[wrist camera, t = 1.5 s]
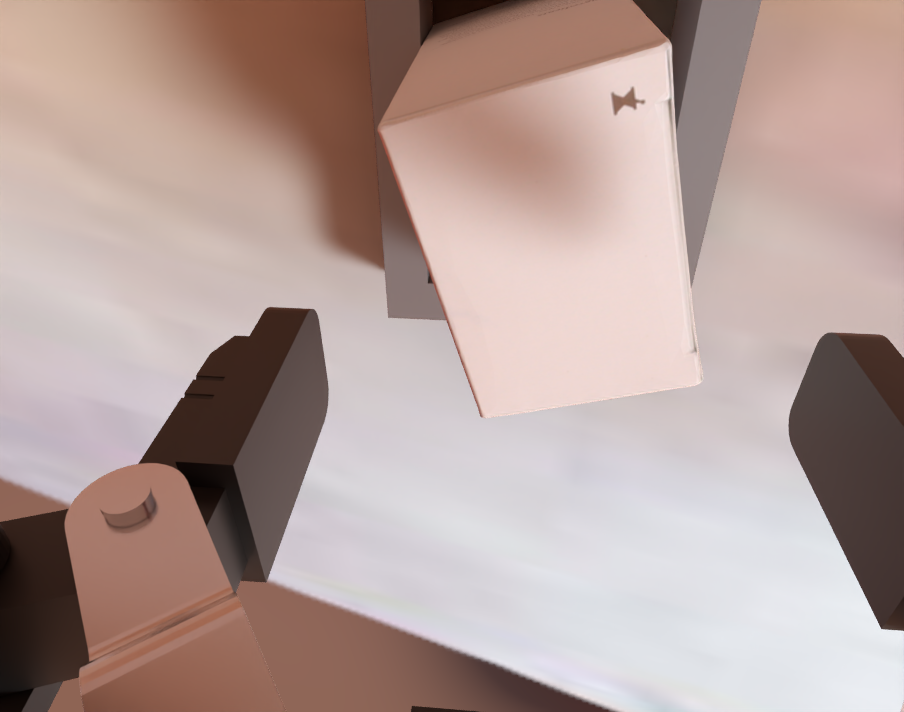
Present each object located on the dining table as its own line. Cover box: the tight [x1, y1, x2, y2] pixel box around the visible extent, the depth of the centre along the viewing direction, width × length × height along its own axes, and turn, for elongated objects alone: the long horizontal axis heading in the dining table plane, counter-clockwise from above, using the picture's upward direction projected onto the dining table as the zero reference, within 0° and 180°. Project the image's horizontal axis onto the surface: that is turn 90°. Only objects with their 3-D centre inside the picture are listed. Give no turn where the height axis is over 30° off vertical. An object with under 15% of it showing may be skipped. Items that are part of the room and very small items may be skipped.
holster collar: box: [365, 0, 761, 320], centre depth 21 cm, size 10×12×3 cm
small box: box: [377, 0, 703, 418], centre depth 18 cm, size 8×6×10 cm
